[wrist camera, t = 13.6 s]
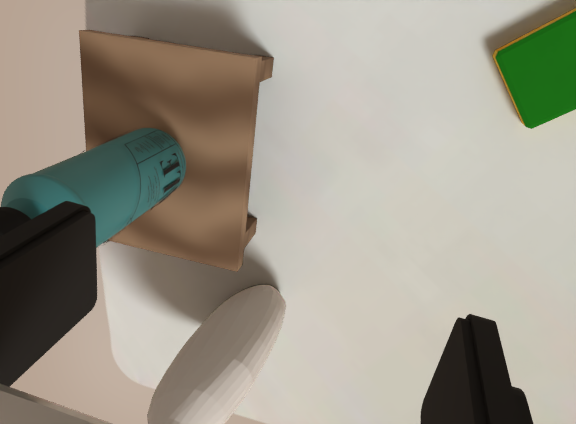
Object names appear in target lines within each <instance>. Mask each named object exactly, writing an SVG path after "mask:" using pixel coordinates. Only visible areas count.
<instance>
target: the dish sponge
mask: <svg viewBox="0 0 576 424" xmlns="http://www.w3.org/2000/svg"><path fill="white" fill-rule="evenodd" d="M493 58H494V61H495V63H496V65H497V68H498V70H499V72H500V74H501V77H502V79H503V81H504V84H505V86H506V88H507V90H508V93H509V95H510V97H511V99H512V102H513V104H514V106H515V109H516V111H517V113H518V115H519V118H520V120H521V122H522V123H523V124H524V125H525V126H526V127H528V128H531V129H532V128H534V127H537V126H539V125H541V124H543V123H546V122H548V121H550V120H552V119H555V118H557V117H559V116H561V115H564V114H566V113H568V112H570V111H573V110H575V109H576V8H575V9H573V10H571V11H569V12H567V13H565V14H563V15H561V16H560V17H558V18H556V19H554V20H552V21H550V22H548V23H546V24H544V25H542V26H540V27H538V28H537V29H535V30H533V31H531V32H529V33H527V34H525V35H523V36H521V37H519V38H517V39H516V40H514V41H512V42H510V43H508V44H506V45H504V46H502V47H500V48H498V49H496V50H495V51H494V54H493Z"/></svg>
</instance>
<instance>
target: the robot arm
mask: <svg viewBox="0 0 576 424" xmlns="http://www.w3.org/2000/svg"><path fill="white" fill-rule="evenodd" d="M96 268H97V264H96V219H95V216H94V214H92V213H91V210H90V208H89V207H87V206H85V205H81V204H77V203H74V202H70V201H64V202H62V203H60V204H58V205H56V206H55V207H53V208H51V209H49V210H47V211H46V212H44V213H42V214H40V215H38V216H36V217H35V218H33V219H31V220H29V221H27V222H26V223H24V224H22V225H20V226H18V227H17V228H15V229H13V230H11V231H9V232H8V233H6V234H4V235H2V236H0V424H112V423H109V422H106V421H104V420H101V419H98V418H95V417H93V416H90V415H87V414H84V413H81V412H79V411H76V410H73V409H70V408H67V407H64V406H62V405H59V404H56V403H53V402H50V401H48V400H45V399H42V398H39V397H36V396H33V395H30V394H28V393H25V392H22V391H19V390H16V389H13V388H10V386H11V385H12V384H13V383H14V382H15V381H16V380H17V379H18V378H19V377H20V376H21V375H22V374H23V373H24V372H25V371H27V370H28V369H29V368H30V367H31V366H32V365H33V364H34V363H35V362H36V361H37V360H38V359H40V357H42V356H43V355H44V354H45V353H46V352H47V351H48V350H49V349H50V348H51V347H52V346H53V345H54V344H55V343H57V342H58V341H59V340H60V339H61V338H62V337H63V336H64V335H65V334H66V333H67V332H68V331H70V330H71V329H72V328H73V327H74V326H75V325H76V324H77V323H78V322H79V321H80V320H81V319H82V318H83V317H84V316H86V315H87V313H89V312H90V311H91V310H92V308H93V307H94V305H95V303H96V300H97V269H96ZM421 424H533V421H532V417H531V414H530V410H529V406H528V403H527V399H526V396H525V394H524V392H523V391H522V390H521V389H519V388H515V387H512V386H511V382H510V378H509V374H508V370H507V365H506V361H505V357H504V353H503V349H502V345H501V341H500V337H499V333H498V329H497V325H496V322H495V321H493V320H489V319H486V318H482V317H479V316H475V315H472V314H469V315H468V316H467V317H466V319H463V318H458V319H457V320H456V322H455V324H454V327H453V329H452V332H451V334H450V337H449V339H448V342H447V344H446V346H445V349H444V351H443V354H442V356H441V359H440V361H439V364H438V366H437V368H436V371H435V373H434V376H433V378H432V381H431V383H430V386H429V388H428V390H427V393H426V395H425V398H424V401H423V404H422V409H421Z"/></svg>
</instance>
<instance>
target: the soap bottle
mask: <svg viewBox="0 0 576 424" xmlns="http://www.w3.org/2000/svg"><path fill="white" fill-rule="evenodd" d="M285 309H286V303H285V300H284V299H283V297H282V296H281V294H280V293H279V292H278V291H277V290H276V289H275V288H274V287H272V286H270V285H258V286H253V287H250V288H248V289H245V290H243V291H241V292H239V293H237V294H235V295H233V296H232V297H230V298H229V299H228V300H226V301H225V302H223V303H222V304H221V305H220V306H219V307H218V308H217V309H216V310H215V311H214V312H213V313H212V314H211V315H210V316H209V317H208V318H207V319H206V320H205V321H204V322H203V324H202V325H201V326H200V327H199V328H198V329H197V330H196V331H195V333H194V334H193V335H192V336H191V337H190V338H189V340H188V341H187V342H186V343H185V345H184V346H183V347H182V349H181V350H180V351H179V353H178V354H177V356H176V357H175V359H174V360H173V362H172V363H171V365H170V366H169V368H168V369H167V371H166V373H165V374H164V376H163V378H162V380H161V381H160V383H159V385H158V386H157V388H156V390H155V392H154V395H153V397H152V401H151V404H150V407H149V411H148V414H147V417H148V424H225V423H226V421H227V420H228V419H229V418H230V416H231V415H232V414H233V412H234V411H235V410H236V408H237V407H238V406H239V405H240V403H241V402H242V401H243V399H244V398H245V396H246V395H247V393H248V391H249V390H250V388H251V386H252V385H253V383H254V381H255V379H256V378H257V376H258V374H259V373H260V371H261V369H262V367H263V365H264V363H265V362H266V360H267V358H268V355H269V353H270V351H271V349H272V347H273V345H274V343H275V341H276V339H277V336H278V334H279V331H280V329H281V326H282V323H283V319H284V314H285Z"/></svg>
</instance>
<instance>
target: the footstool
mask: <svg viewBox="0 0 576 424" xmlns="http://www.w3.org/2000/svg"><path fill="white" fill-rule="evenodd" d="M79 37H80V53H81V70H82V87H83V104H84V122H85V138H86V151H88V150H90V149H92V148H95V147H97V146H94V145H98V143H99V145H100V144H101V145H102V144H104V143H106V142H109V141H111V140H112V139H111V138H113V137H114V139H116V138H118V137H121V136H123V135H125V134H128V133H130V132H132V131H135V130H137V129H141V128H155V129H159V130H162V131H164V132H166V133H168V134H169V135H170V136H172V137H173V138H174V139H175V140H176V141H177V143H178V144H179V145H180V147H181V148H182V151H183V153H184V156H185V160H186V172H185V177H184V179H183V180H184V181H182V182H183V183H181V184H180V186H181V187H180V186H179V187H178V188H177V189H178V190H177V189H176V190H175V191H174V192H172V193H171V196H170V197H169V196H168V197H167V199H166V198H165V199H166V200H165V199H164V201H163V202H161V201H162V200H161V201H160V202H161V203H160V204H159V202H158V203H157V204H158V205H157V204H156V205H157V206H155V205H154V206H155V207H154V206H153V208H152V210H151V208H150V209H149V210H148V211H149V212H148V211H146V212H145V213H143V214H142V215H141V216H139V217H138V218H139V219H138V218H137V219H135V220H134V221H133V222H131V225H130V224H128V225H127V226H126V227H125V228H126V229H122V230H120V231H121V232H120V231H119V232H118V233H117V234H116V235H117V236H116V235H114V236H115V238H114V236H113V237H112V238H109V240H110V241H113V242H117V243H121V244H125V245H129V246H133V247H138V248H142V249H146V250H150V251H154V252H158V253H162V254H166V255H170V256H175V257H179V258H183V259H187V260H191V261H195V262H199V263H203V264H208V265H212V266H216V267H220V268H224V269H228V270H232V271H236V272H238V270H239V269H240V267H241V266H242V264H243V253H244V248H245V247H246V245H247V244H248V243H249V241H250V240H251V239H252V237H253V236H254V235H255V233H256V224H257V218H252V217H247V210H248V200H249V189H250V178H251V168H252V157H253V146H254V136H255V125H256V114H257V104H258V93H259V82H261V81H264V80H266V79H268V78H271V77H272V69H273V60H274V58H272V57H266V56H259V55H247V54H240V53H234V52H227V51H221V50H215V49H208V48H202V47H195V46H189V45H183V44H176V43H170V42H163V41H157V40H151V39H149V38H144V37H137V36H125V35H119V34H112V33H106V32H99V31H93V30H80V31H79ZM134 128H135V129H134ZM125 132H126V133H125ZM127 132H128V133H127ZM121 134H122V135H121ZM118 135H119V136H118ZM116 136H117V137H116ZM109 139H110V140H109ZM108 140H109V141H108ZM103 142H104V143H103ZM99 145H98V146H99ZM150 210H151V211H150Z"/></svg>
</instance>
